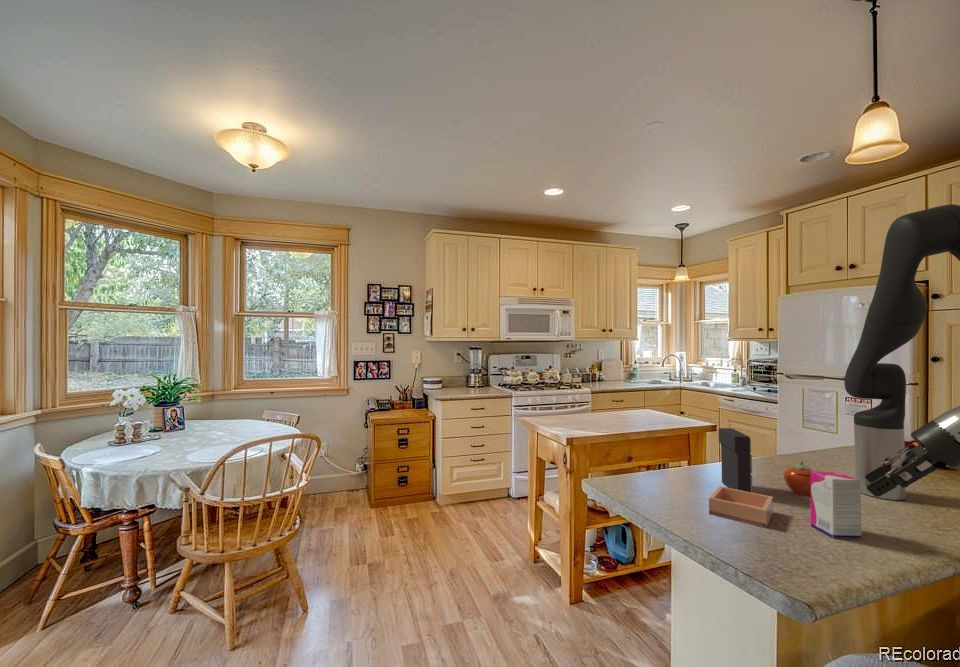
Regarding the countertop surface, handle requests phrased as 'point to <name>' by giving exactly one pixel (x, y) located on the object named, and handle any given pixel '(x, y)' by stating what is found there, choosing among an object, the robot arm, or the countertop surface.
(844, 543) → the countertop surface
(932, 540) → the countertop surface
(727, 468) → the calculator
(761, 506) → the dish
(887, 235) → the robot arm
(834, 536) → the supplement box
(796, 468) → the tomato
